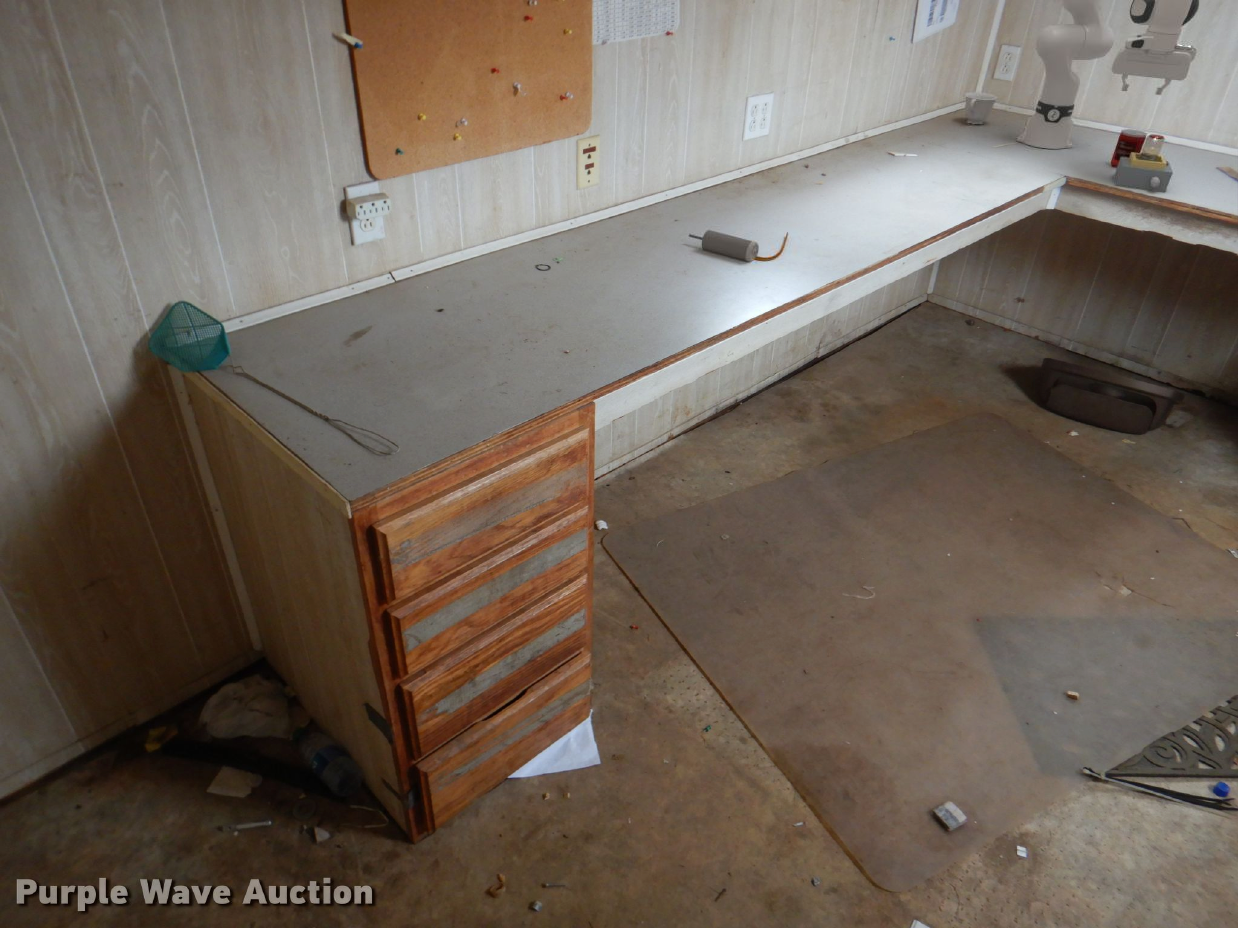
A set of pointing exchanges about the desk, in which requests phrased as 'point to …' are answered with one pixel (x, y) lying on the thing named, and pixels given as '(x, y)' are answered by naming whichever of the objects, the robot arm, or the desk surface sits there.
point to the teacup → (978, 106)
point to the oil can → (1152, 147)
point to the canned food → (1128, 144)
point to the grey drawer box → (1143, 173)
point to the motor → (733, 246)
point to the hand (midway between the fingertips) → (1140, 92)
